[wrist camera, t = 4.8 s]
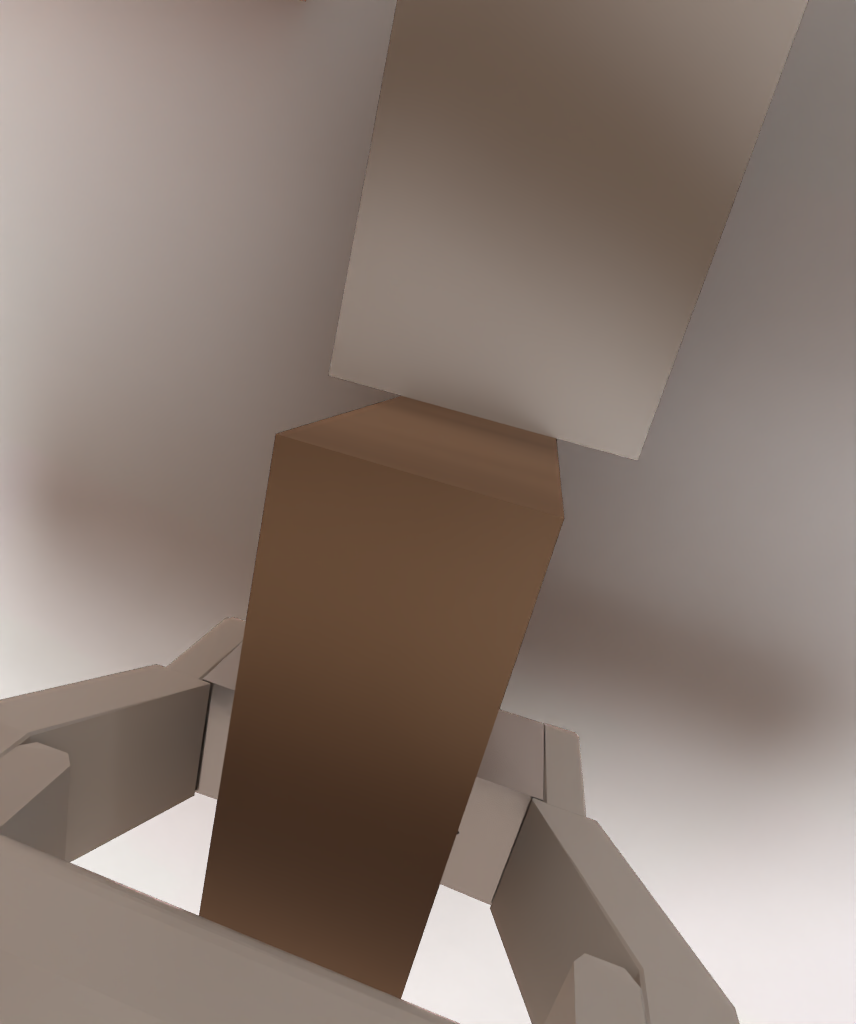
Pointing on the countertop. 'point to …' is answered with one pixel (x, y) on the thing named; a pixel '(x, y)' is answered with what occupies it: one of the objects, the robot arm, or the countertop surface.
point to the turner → (466, 429)
